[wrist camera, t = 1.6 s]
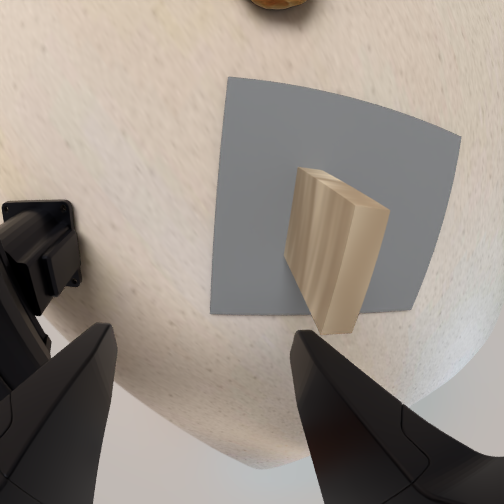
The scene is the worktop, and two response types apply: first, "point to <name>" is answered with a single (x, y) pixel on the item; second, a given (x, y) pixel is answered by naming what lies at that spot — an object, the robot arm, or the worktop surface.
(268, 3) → the pastry
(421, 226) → the mat
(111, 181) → the worktop surface
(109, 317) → the worktop surface
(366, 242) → the tile
